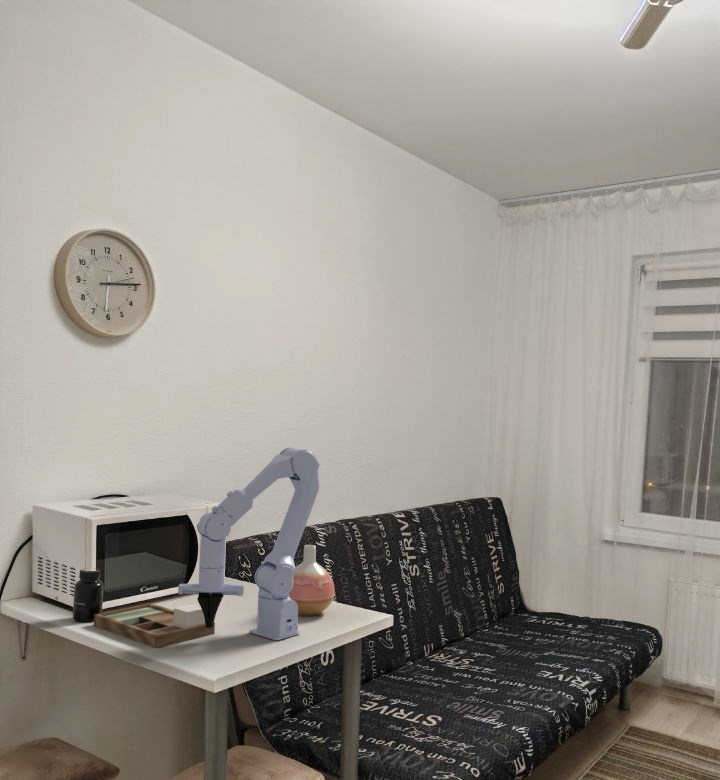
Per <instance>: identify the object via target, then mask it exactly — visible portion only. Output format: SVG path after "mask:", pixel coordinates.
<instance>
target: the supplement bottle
mask: <svg viewBox="0 0 720 780" xmlns="http://www.w3.org/2000/svg"><path fill="white" fill-rule="evenodd" d="M97 569H98V570H96V571H85V570H82V569H80V570H79V573H78V574H79V576H78V578H79V580H77V581H76V582H75V584H74V587H73V588H74V589H73V602H72V605H73V606H72V619H74V620H73V621H75V622H77V621H78V622H77V623H94V614H99V613H103V602H104V582H103V581H102V580H101V579H100V578H101V569H99V568H97Z"/></svg>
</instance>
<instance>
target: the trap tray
mask: <svg viewBox="0 0 720 780" xmlns="http://www.w3.org/2000/svg"><path fill="white" fill-rule="evenodd" d="M215 624H216V623H215V621H214V625H213V627H212V628H206V624H205V623H204V624H200V625H196V626H192V627H188V628H184V629H183V628H180V627H177V626H174V609H171V608H168V607H164V606H161V605H158V604H155V603H151V602H149V603H146V604H141V605H135V606H134V605H133V606H130V607H124V608H119V609H116V610H110V611H109V610H108V611H105V612H102V613H99V614H94V622H93V626H94V627H96V628H100V629H103V630H104V631H105V630H106V631H108V632H110V633H114V634H116V635H120V636H121V637H125V638H127V639H131V640H133V641H135V642H139V643H141V644H144V645H147V646H150V647H153V648H156V649H160V648H163V647H168V646H172V645H175V644H176V645H177V644H180V643H183V642H187V641H191V640H195V639H199V638H203V637H207V636H210V635H211V636H212V635H215V632H216V631H215V630H216V629H215V628H216V625H215Z"/></svg>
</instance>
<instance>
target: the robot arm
mask: <svg viewBox="0 0 720 780" xmlns="http://www.w3.org/2000/svg"><path fill="white" fill-rule="evenodd" d="M320 465H321V463H320V462H319V461H318V458H317V457H316V455H315V453H314V452H312V451H311V450H310V449H300V448H295V447H286V448H284V449H282V450H281V451H280V452H279V453H278V454H277V455H275V456H274V457H273V458H272V459H271V460H270V462H269V463H268V464H267V465H266V466H265V467H264V468H263V469H262V470H261V471H260V472H259V473H258V474H257V475H256V476H255V477H254V478H253V479H252V480H251V481H250V482H249V483H248V484H247V485H246V486H245V487H244V488H243V489H238V488H237V489H234V490H233V491H232V490H230V491H228V493H226V496H227V497H225V498H224V499H223V500H222V501H221V502H220V503H219V504H218V505H215V506H213V507H212V508H211V512H207V513H204V514H203V515H202V516H201V517H200V518H199V521H198V524H196V530H197V532H198V533H199V535H200V544H199V560H198V561H199V562H198V582H196V583H180V584H179V585H178V586H177V587H178V589H177V594H178V595H183V594H184V595H198V596H197V598H196V599H197V602H198V604H199V607H201V609H202V611H203V615H204V618H205V624H206V628H212V627H213V625H214V622H215V619H216V615H217V612H218V609H219V607H220V605H221V602H222V600H223V598H224V596H237V597H243V596H244V592H245V591H244V589H245V588H244V585H235V584H226V583H225V568H226V567H225V566H226V565H225V564H226V563H225V562H226V538H227V537H228V536H229V535H230V532H231V530H232V529H231V528H232V527H233V526H234V525H235V524H236V523H238V521H239V520H240V519H241V518H243V517H244V516H245V515H246V514H247V513H248V512H249V511H251V509H252V508H253V504H254V499H256V498H257V497H258V496H259V495H261V494H262V493H263V492H264V491H266V489H268V488H269V487H271V486H272V485H274V483H276V481H278V480H280V479H286V478H289V480H290V482H291V483H292V486H293V488H294V492H293V495H292V498H291V501H290V503H289V506H288V508H287V511H286V514H285V517H284V519H283V522H282V525H281V526H280V530H279V532H278V535H277V538H276V540H275V543H274V546H273V549H272V551H271V552H270V553H268V554H267V555H266V556H265V558H264V559H263V562H262V564H261V565H260V566H259V567H258V568H257V569H256V571H255V573H254V583H255V585H256V586H257V587H258V592H257V593H258V595H257V616H256V617H257V618H256V619H257V621H256V628H253V629H249V630H248V633H249V634H253V635H257V636H259V637H260V636H261V637H264V638H266V639H270V640H273V641H279V640H283V639H285V638H290V637H293V636H297V635H300V634H301V632H300V631H298V630H299V629H298V628H299V627H298V626H299V615H298V605H297V603H296V602H295V601H294V600H292V599H291V598H290V597H289V593H290V592H291V590H292V588H293V585H294V578H293V577H294V572H295V567H296V565H295V560H294V559H295V555H296V553H297V551H298V547H299V544H300V542H301V539H302V537H303V534H304V531H305V528H306V525H307V523H308V520H309V518H310V515H311V512H312V510H313V507H314V505H315V501H316V499H317V495H318V494H319V493H318V492H319V491H320V490H319V489H320V484H319V471H318V470H319V468H320Z"/></svg>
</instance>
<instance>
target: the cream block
mask: <svg viewBox="0 0 720 780" xmlns="http://www.w3.org/2000/svg"><path fill="white" fill-rule="evenodd" d="M173 610H174V626H177V627H180V628H183V629H184V628H188V627H192V626H196V625H200V624H204V623H205V618H204V615H203V611H202V609H201V606H198V605H195V604H187V605H183V606H178V607H174V608H173Z"/></svg>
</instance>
